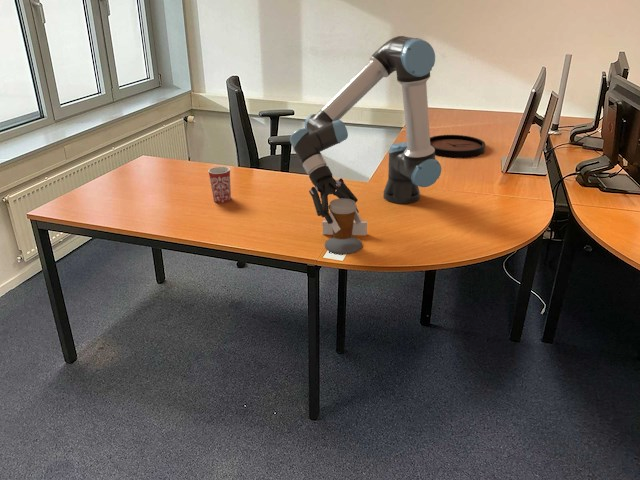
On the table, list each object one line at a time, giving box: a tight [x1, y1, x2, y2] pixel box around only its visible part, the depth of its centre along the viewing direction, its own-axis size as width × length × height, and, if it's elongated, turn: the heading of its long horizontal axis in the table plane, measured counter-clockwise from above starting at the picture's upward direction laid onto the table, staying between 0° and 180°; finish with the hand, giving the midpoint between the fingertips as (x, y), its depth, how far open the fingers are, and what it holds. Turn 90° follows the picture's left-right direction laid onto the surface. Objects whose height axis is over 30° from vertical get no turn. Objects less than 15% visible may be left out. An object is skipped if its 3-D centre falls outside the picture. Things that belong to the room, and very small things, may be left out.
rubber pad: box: [324, 236, 363, 255], centre depth 184 cm, size 13×13×1 cm
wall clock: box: [430, 134, 486, 159], centre depth 282 cm, size 31×4×31 cm
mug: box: [207, 165, 232, 204], centre depth 223 cm, size 13×9×14 cm
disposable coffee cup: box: [328, 198, 358, 239], centre depth 180 cm, size 10×10×12 cm
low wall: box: [321, 220, 368, 236], centre depth 191 cm, size 16×1×5 cm, turn 85°
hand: (348, 226), depth 178 cm, fingers closed on disposable coffee cup, 9 cm apart
